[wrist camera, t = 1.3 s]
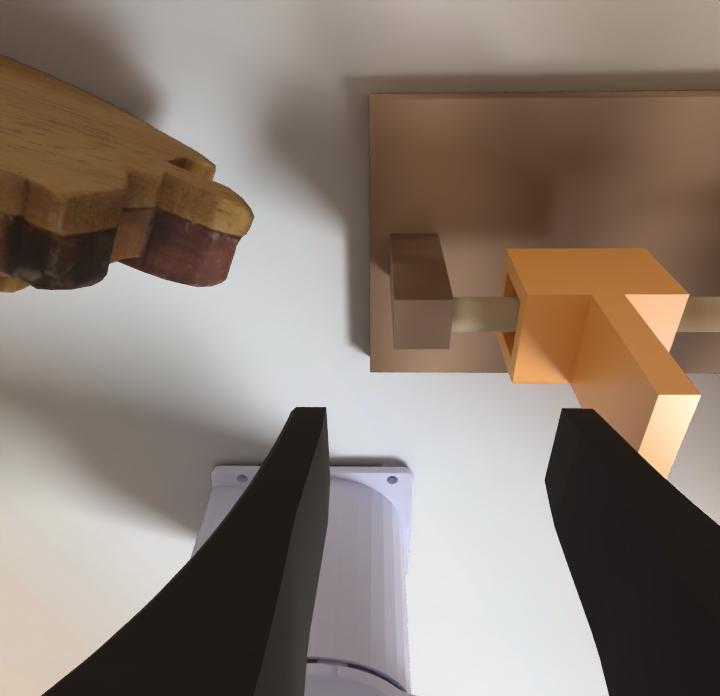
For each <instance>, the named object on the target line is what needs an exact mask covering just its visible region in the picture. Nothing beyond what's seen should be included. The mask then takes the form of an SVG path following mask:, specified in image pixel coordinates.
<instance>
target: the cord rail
mask: <svg viewBox="0 0 720 696" xmlns="http://www.w3.org/2000/svg"><path fill="white" fill-rule="evenodd" d="M369 155H370V372H469V373H509V372H508V369H507V366H506V363H505V360H504V357H503V354H502V351H501V348H500V345H499V342H498V339H497V336H496V333H495V332H516V326H517V320H518V314H519V308H520V300H519V298H518V297H499V296H500V289H501V282H502V275H503V267H504V260H505V253H506V249H539V248H645V249H646V250H647V251H648V252H649V253H650V254H651V255H652V256H653V257H654V258H655V259H656V260H657V261H658V262H659V263H660V264H661V265H662V266H663V267H664V268H665V269H666V271H667V272H668V273H669V274H670V275H671V276H672V277H673V278H674V279H675V280H676V281H677V282H678V283H679V284H680V285H681V286H682V287H683V288H684V289H685V290H686V291H687V292H688V293H689V294H690V295H689V297H688V300H687V303H686V306H685V309H684V312H683V314H682V317H681V320H680V323H679V326H678V329H677V331H676V334H675V337H674V340H673V343H672V346H671V348H670V351H669V353H670V355H671V356H672V357H673V359H674V360H675V361H676V362H677V364H678V365H679V366H680V368H681V369H682V370H683V372H684V373H720V90H705V91H604V92H504V93H403V94H370V95H369Z"/></svg>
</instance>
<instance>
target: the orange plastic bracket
mask: <svg viewBox="0 0 720 696" xmlns="http://www.w3.org/2000/svg"><path fill="white" fill-rule="evenodd" d="M689 295H690V294H689V293H688V292H687V291H686V290H685V289H684V288H683V287H682V286H681V285H680V284H679V283H678V282H677V281H676V280H675V279H674V278H673V277H672V276H671V275H670V274H669V273H668V272H667V271H666V269H665V268H664V267H663V266H662V265H661V264H660V263H659V262H658V261H657V260H656V259H655V258H654V257H653V256H652V255H651V254H650V253H649V252H648V251H647V250H646V249H645V248H539V249H506V253H505V260H504V267H503V275H502V282H501V289H500V296H499V297H518V298H519V300H520V308H519V314H518V320H517V326H516V332H495V333H496V336H497V339H498V342H499V345H500V348H501V351H502V354H503V357H504V360H505V363H506V366H507V369H508V372H509V375H510V378H511V381H512V383H539V384H571V386H572V388H573V390H574V392H575V394H576V397H577V399H578V401H579V403H580V405H581V407H582V409H594V410H595V411H596V412H597V413H598V414H599V415H600V416H601V417H602V418H603V419H604V420H605V421H606V422H607V423H608V424H609V425H610V426H611V427H612V428H613V429H614V430H615V431H617V432H618V433H619V434H620V435H621V436H622V437H623V438H624V439H625V440H626V441H627V442H628V443H629V444H630V445H631V446H632V447H633V448H634V449H635V450H636V451H637V452H638V453H639V454H640V455H641V456H642V457H643V458H644V459H645V460H646V461H647V462H648V463H649V464H650V465H651V466H652V467H654V468H655V469H656V470H657V471H658V472H659V473H660V474H661V475H662V476H663V477H664V478H665V479H667V477H668V474H669V472H670V470H671V467H672V465H673V462H674V460H675V457H676V455H677V453H678V450H679V448H680V445H681V443H682V441H683V438H684V436H685V433H686V431H687V428H688V426H689V424H690V421H691V419H692V416H693V414H694V411H695V409H696V407H697V404H698V402H699V399H700V397H701V394H700V392H699V391H698V390H697V389H696V387H695V386H694V385H693V383H692V382H691V381H690V379H689V378H688V377H687V376H686V374H685V373H684V372H683V370H682V369H681V368H680V366H679V365H678V364H677V362H676V361H675V360H674V359H673V357H672V356H671V355H670V353H669V351H670V348H671V346H672V343H673V340H674V337H675V334H676V331H677V329H678V326H679V323H680V320H681V317H682V314H683V312H684V309H685V306H686V303H687V300H688V297H689Z"/></svg>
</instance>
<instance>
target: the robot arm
mask: <svg viewBox="0 0 720 696" xmlns="http://www.w3.org/2000/svg"><path fill="white" fill-rule="evenodd" d="M241 475H245V477H244V476H241ZM389 476H395V477H393V478H391V477H389ZM211 481H212V486H213V488H212V491H211V495H210V498H209V501H208V504H207V507H206V511H205V514H204V517H203V520H202V523H201V527H200V530H199V533H198V536H197V540H196V543H195V546H194V549H193V552H192V556H191V559H190V560H189V561H188V562H187V564H186V565H185V566H184V567H183V568H182V569H181V570H180V571H179V572H178V573H177V574H176V575H175V576H174V577H173V578H172V579H171V580H170V582H169V583H168V584H167V585H166V586H165V587H164V588H163V589H162V590H161V591H160V592H159V593H158V594H157V595H156V596H155V597H154V598H153V599H152V600H151V601H150V602H149V603H148V604H147V605H146V606H145V607H144V608H143V609H142V610H141V611H140V612H138V613H137V614H136V615H135V616H134V617H133V618H132V619H131V620H130V621H129V622H127V623H126V624H125V625H124V626H123V627H122V628H121V629H120V630H119V631H118V632H116V633H115V634H114V635H113V636H112V637H111V638H110V639H109V640H108V641H107V642H106V643H104V644H103V645H102V646H101V647H100V648H99V649H98V650H97V651H95V652H94V653H93V654H92V655H91V656H90V657H88V658H87V659H86V660H85V661H84V662H83V663H81V664H80V665H79V666H78V667H76V668H75V669H74V670H73V671H71V672H70V673H69V674H68V675H66V676H65V677H64V678H63V679H61V680H60V681H59V682H58V683H56V684H55V685H54V686H53V687H51V688H50V689H49V690H48V691H46V692H45V693H44V694H43V695H41V696H416V695H412V694H411V678H410V658H409V639H408V619H407V599H406V579H405V575H407V574H408V571H409V554H410V537H411V519H412V502H413V484H414V476H413V471H412V470H411V469H409V468H407V467H341V466H330V463H329V446H328V430H327V413H326V407H296V408H295V409H294V410H292V411H291V413H290V415H289V418H288V420H287V422H286V424H285V426H284V428H283V430H282V431H281V433H280V435H279V437H278V439H277V441H276V442H275V444H274V446H273V447H272V449H271V451H270V452H269V454H268V456H267V457H266V459H265V461H264V462H263V464H262V465H261V466H217V467H215V468H214V469H213V470H212V473H211ZM545 484H546V489H547V494H548V499H549V504H550V508H551V513H552V517H553V522H554V526H555V529H556V532H557V535H558V538H559V541H560V544H561V547H562V550H563V552H564V555H565V558H566V561H567V564H568V567H569V570H570V572H571V575H572V578H573V581H574V584H575V586H576V589H577V592H578V595H579V598H580V600H581V603H582V606H583V609H584V612H585V614H586V617H587V620H588V623H589V626H590V628H591V631H592V634H593V638H594V641H595V644H596V647H597V650H598V654H599V657H600V661H601V665H602V669H603V673H604V677H605V681H606V685H607V689H608V693H609V696H720V526H719V525H718V524H717V523H716V522H715V521H713V520H712V519H711V518H710V517H709V516H707V515H706V514H705V513H704V512H703V511H701V510H700V509H699V508H698V507H697V506H695V505H694V504H693V503H692V502H691V501H690V500H689V499H687V498H686V497H685V496H684V495H683V494H682V493H681V492H680V491H678V490H677V489H676V488H675V487H674V486H673V485H672V484H671V483H670V482H669V481H667V480H666V479H665V478H664V477H663V476H662V475H661V474H660V473H659V472H658V471H657V470H656V469H655V468H654V467H652V466H651V465H650V464H649V463H648V462H647V461H646V460H645V459H644V458H643V457H642V456H641V455H640V454H639V453H638V452H637V451H636V450H635V449H634V448H633V447H632V446H631V445H630V444H629V443H628V442H627V441H626V440H625V439H624V438H623V437H622V436H621V435H620V434H619V433H618V432H617V431H615V430H614V429H613V428H612V427H611V426H610V425H609V424H608V423H607V422H606V421H605V420H604V419H603V418H602V417H601V416H600V415H599V414H598V413H597V412H596V411H595V410H594V409H580V408H562V411H561V415H560V419H559V423H558V427H557V431H556V435H555V440H554V444H553V448H552V452H551V456H550V460H549V464H548V468H547V472H546V477H545Z"/></svg>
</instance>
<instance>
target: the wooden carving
mask: <svg viewBox="0 0 720 696" xmlns="http://www.w3.org/2000/svg"><path fill="white" fill-rule="evenodd" d="M215 171H216V167H215V165H214V164H213V163H212V162H211V161H209V160H208V159H207V158H205V157H204V156H203V155H201V154H200V153H198V152H197V151H195V150H193V149H192V148H190V147H188V146H187V145H185V144H183V143H181V142H179V141H178V140H176V139H174V138H172V137H170V136H168V135H167V134H165V133H163V132H161V131H159V130H157V129H156V128H154V127H152V126H151V125H149V124H147V123H145V122H143V121H142V120H140V119H138V118H136V117H134V116H132V115H131V114H129V113H127V112H125V111H123V110H121V109H119V108H117V107H116V106H114V105H112V104H110V103H107V102H105V101H103V100H101V99H99V98H97V97H95V96H93V95H91V94H89V93H87V92H85V91H83V90H81V89H79V88H77V87H75V86H73V85H71V84H68V83H66V82H63V81H61V80H59V79H57V78H55V77H53V76H51V75H49V74H47V73H44V72H42V71H39V70H36V69H34V68H31V67H29V66H26V65H24V64H22V63H20V62H17V61H15V60H13V59H11V58H8V57H6V56H4V55H1V54H0V292H15V291H18V290H21V289H24V288H26V287H28V286H29V285H31V286H33V287H35V288H36V289H48V290H72V289H76V288H81V287H87V286H92V285H94V284H96V283H98V282H100V281H102V280H103V278H104V277H105V276H106V275H107V271H108V266H109V264H110V263H113V262H116V261H118V262H120V263H123V264H125V265H128V266H130V267H132V268H135V269H137V270H140V271H142V272H145V273H148V274H151V275H154V276H157V277H159V278H162V279H165V280H169V281H173V282H177V283H181V284H186V285H191V286H196V287H206V286H213V285H216V284H219V283H222V282H223V281H224V280H226V278H227V275H228V272H229V269H230V266H231V262H232V259H233V256H234V253H235V249H236V246H237V244H238V242H239V241H240V239H241V238H242V237H243V236H244V235H246V234H247V232H248V230H249V229H250V227H251V224H252V221H253V219H254V215H253V212H252V210H251V208H250V207H249V206H248V205H247V203H246V202H245V201H244V199H243V198H242V197H240V196H239V195H238V194H236V193H235V192H234V191H232V190H231V189H230V188H228V187H226V186H224V185H222V184H219V183H217V182H214V181H212V180H213V177H214V174H215Z"/></svg>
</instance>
